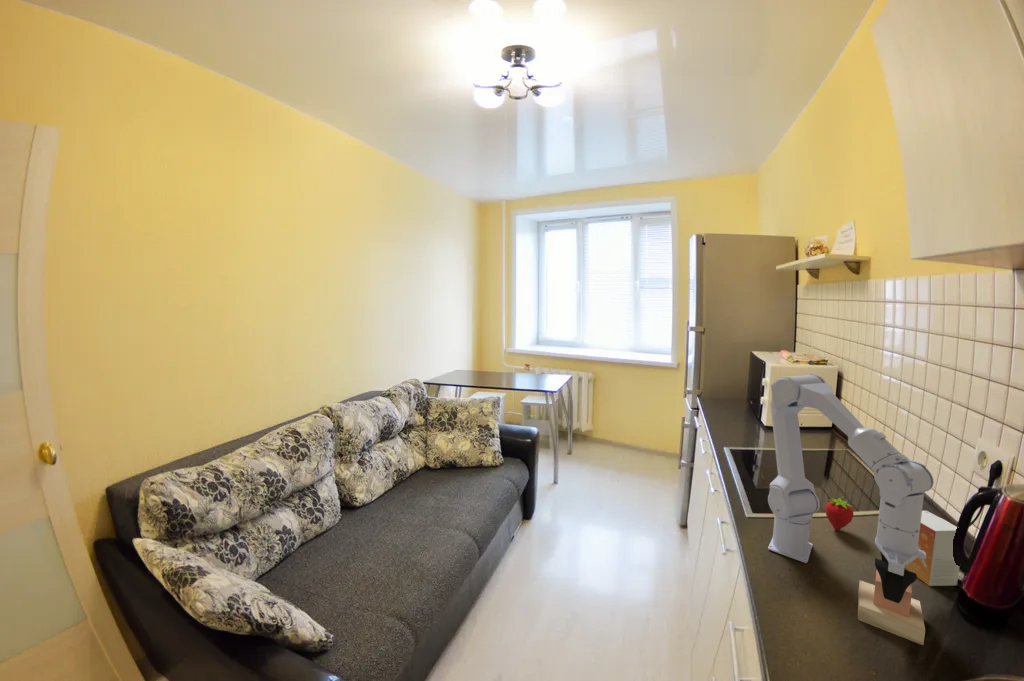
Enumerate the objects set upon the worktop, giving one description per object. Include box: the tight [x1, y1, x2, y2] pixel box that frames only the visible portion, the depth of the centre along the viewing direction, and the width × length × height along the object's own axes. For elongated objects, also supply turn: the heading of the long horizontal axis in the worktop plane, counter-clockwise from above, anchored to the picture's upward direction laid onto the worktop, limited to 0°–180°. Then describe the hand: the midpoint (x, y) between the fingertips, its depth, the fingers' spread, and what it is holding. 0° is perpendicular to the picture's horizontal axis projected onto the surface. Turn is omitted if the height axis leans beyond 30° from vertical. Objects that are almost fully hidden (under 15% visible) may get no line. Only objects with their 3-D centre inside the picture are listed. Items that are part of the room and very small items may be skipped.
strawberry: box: [824, 496, 855, 531], centre depth 107 cm, size 6×8×10 cm
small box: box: [904, 510, 960, 587], centre depth 90 cm, size 8×6×13 cm
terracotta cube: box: [873, 569, 913, 617], centre depth 78 cm, size 5×5×5 cm
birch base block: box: [857, 580, 926, 646], centre depth 79 cm, size 9×9×4 cm
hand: (891, 588), depth 78 cm, fingers open, 7 cm apart
